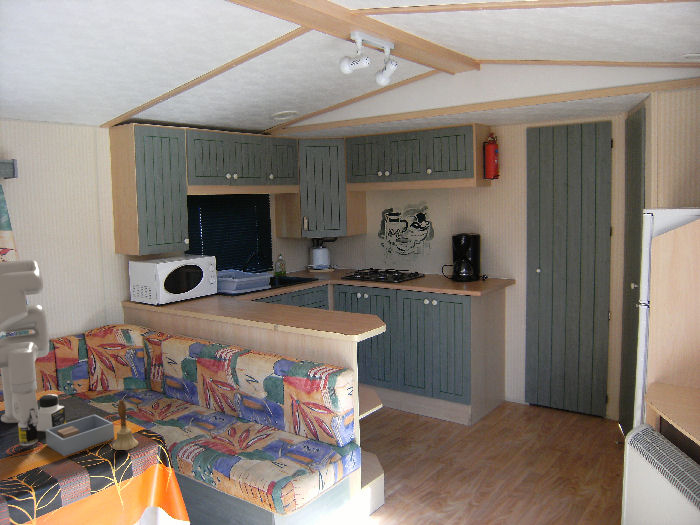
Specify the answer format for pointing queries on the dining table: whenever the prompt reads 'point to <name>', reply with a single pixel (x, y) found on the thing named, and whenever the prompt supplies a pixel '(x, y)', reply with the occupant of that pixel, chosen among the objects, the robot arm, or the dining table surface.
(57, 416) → the medicine bottle
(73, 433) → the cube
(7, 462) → the dining table surface
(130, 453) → the dining table surface
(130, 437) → the hand bell
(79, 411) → the dining table surface
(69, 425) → the tote
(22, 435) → the supplement bottle
